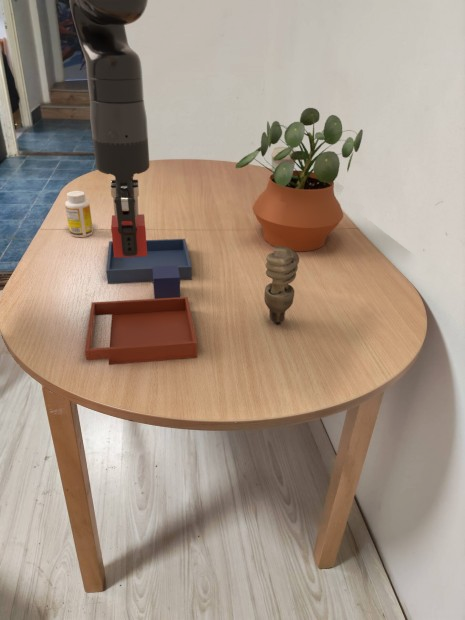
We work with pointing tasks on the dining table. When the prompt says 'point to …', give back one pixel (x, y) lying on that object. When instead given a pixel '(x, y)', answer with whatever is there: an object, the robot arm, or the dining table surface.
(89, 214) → the supplement bottle
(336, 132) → the potted plant
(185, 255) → the back tray
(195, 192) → the dining table surface
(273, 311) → the light bulb
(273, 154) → the coffee cup
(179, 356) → the front tray
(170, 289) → the blue block
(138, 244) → the red block
